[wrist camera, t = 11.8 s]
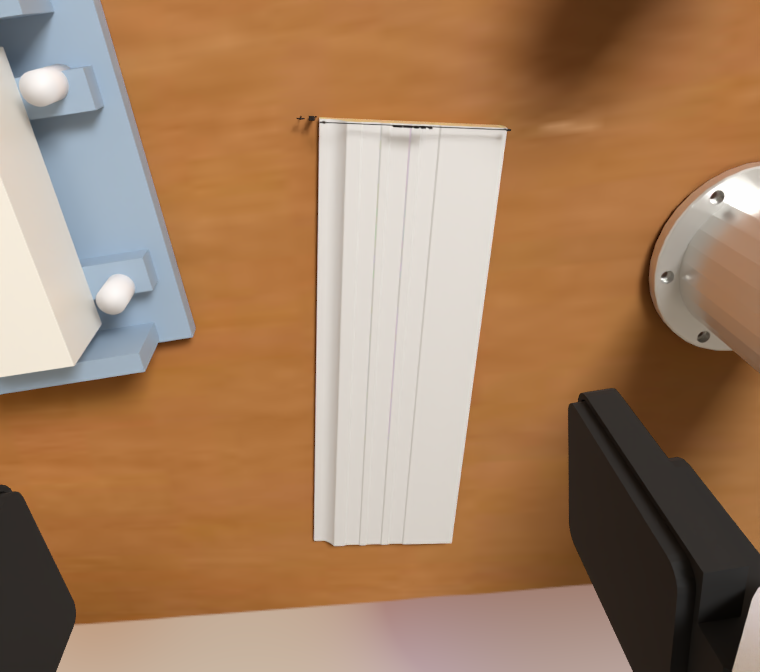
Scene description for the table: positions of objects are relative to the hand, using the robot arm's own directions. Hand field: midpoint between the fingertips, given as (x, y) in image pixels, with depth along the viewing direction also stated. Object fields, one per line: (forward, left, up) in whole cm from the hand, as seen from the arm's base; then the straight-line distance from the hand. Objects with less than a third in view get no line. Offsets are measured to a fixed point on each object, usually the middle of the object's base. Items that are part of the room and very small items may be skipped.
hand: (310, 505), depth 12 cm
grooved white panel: (-2, +14, -31) cm, 34 cm away
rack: (+16, 0, -30) cm, 34 cm away
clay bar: (+16, 0, -28) cm, 32 cm away
